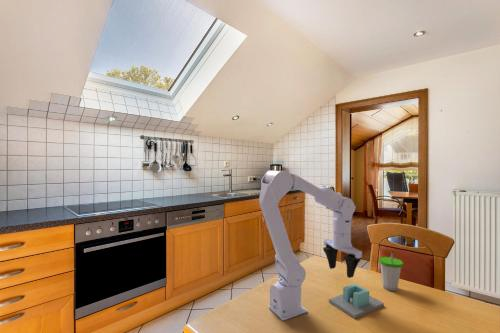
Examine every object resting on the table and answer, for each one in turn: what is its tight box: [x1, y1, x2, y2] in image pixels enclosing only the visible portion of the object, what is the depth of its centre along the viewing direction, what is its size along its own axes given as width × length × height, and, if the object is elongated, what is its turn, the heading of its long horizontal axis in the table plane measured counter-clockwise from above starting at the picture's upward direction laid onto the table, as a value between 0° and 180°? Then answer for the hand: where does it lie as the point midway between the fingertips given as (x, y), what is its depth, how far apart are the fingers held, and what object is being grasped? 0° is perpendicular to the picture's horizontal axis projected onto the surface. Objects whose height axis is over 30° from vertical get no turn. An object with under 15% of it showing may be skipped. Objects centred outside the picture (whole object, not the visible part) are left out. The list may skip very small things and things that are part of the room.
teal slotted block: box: [342, 283, 370, 308], centre depth 82 cm, size 6×6×4 cm
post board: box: [328, 292, 385, 320], centre depth 82 cm, size 14×10×4 cm
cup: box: [378, 251, 404, 292], centre depth 93 cm, size 8×8×15 cm
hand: (341, 272), depth 85 cm, fingers open, 7 cm apart
